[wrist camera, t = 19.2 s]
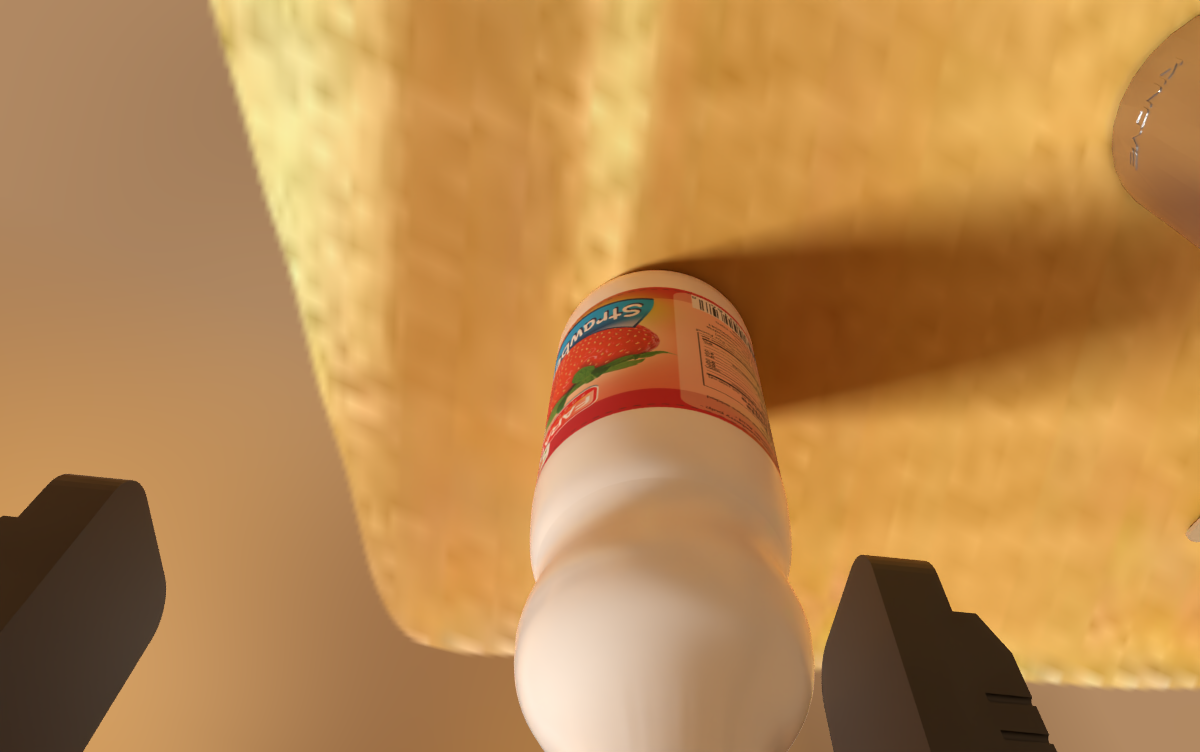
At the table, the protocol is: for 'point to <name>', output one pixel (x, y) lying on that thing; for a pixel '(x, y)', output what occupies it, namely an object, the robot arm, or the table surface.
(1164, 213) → the robot arm
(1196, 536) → the popsicle
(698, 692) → the strawberry milk bottle
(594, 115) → the table surface
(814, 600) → the table surface
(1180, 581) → the table surface
